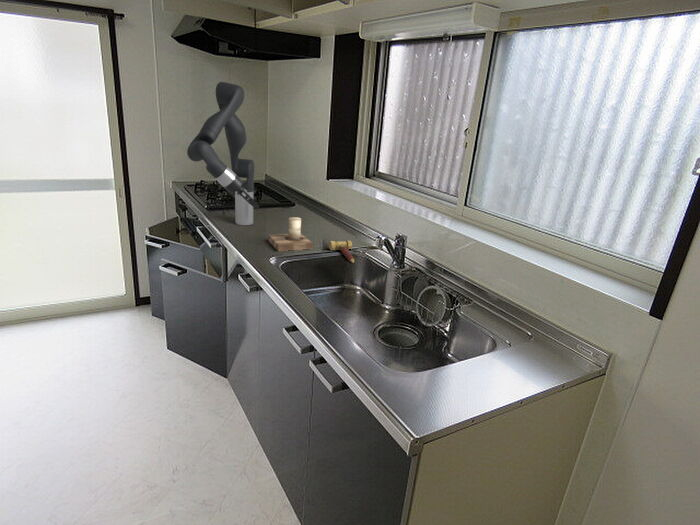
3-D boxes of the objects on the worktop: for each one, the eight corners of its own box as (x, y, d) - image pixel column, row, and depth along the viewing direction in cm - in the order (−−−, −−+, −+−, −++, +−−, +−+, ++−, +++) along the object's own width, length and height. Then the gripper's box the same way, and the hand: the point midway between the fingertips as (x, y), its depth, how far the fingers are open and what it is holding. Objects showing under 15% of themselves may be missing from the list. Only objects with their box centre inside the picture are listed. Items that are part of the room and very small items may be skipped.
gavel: (364, 256, 191) (342, 257, 188) (363, 266, 193) (341, 267, 190) (349, 239, 209) (329, 239, 206) (348, 248, 211) (328, 248, 208)
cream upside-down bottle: (286, 242, 209) (287, 217, 205) (297, 241, 211) (298, 217, 207) (290, 246, 204) (291, 220, 200) (301, 245, 207) (303, 220, 203)
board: (268, 240, 211) (268, 234, 210) (300, 239, 217) (300, 233, 216) (278, 251, 197) (278, 245, 196) (312, 249, 204) (312, 243, 203)
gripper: (238, 176, 183) (265, 203, 192) (231, 170, 194) (257, 196, 204) (226, 189, 182) (253, 216, 191) (219, 182, 194) (245, 207, 203)
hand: (255, 205), depth 197 cm, fingers open, 8 cm apart
